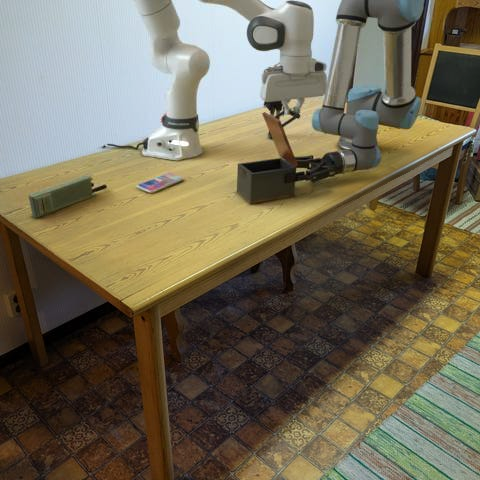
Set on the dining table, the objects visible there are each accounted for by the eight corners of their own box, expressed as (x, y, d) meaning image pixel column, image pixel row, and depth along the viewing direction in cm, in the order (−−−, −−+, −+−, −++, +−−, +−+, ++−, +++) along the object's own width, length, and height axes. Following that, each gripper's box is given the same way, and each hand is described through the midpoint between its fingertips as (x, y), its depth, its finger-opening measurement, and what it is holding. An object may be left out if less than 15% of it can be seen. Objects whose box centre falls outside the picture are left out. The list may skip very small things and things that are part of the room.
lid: (277, 122, 143) (299, 107, 144) (262, 113, 150) (282, 99, 151) (295, 166, 153) (315, 153, 154) (280, 156, 160) (299, 143, 161)
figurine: (266, 142, 202) (269, 63, 187) (256, 138, 206) (258, 61, 191) (291, 134, 211) (296, 59, 196) (280, 131, 215) (284, 57, 200)
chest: (250, 203, 151) (251, 174, 147) (236, 192, 159) (237, 163, 154) (293, 196, 158) (296, 167, 153) (278, 185, 165) (281, 157, 160)
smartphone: (184, 177, 167) (150, 191, 157) (184, 180, 167) (151, 194, 157) (168, 171, 171) (134, 185, 161) (168, 174, 171) (135, 188, 161)
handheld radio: (30, 215, 144) (102, 188, 161) (37, 219, 142) (109, 191, 159) (26, 193, 140) (100, 168, 157) (33, 197, 138) (107, 171, 155)
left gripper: (267, 69, 136) (265, 120, 143) (331, 64, 143) (327, 112, 150) (257, 65, 141) (255, 114, 148) (319, 60, 148) (315, 107, 155)
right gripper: (356, 185, 158) (294, 198, 150) (318, 162, 176) (260, 172, 167) (359, 163, 155) (296, 174, 146) (319, 141, 172) (261, 150, 163)
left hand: (292, 113), depth 149 cm, fingers closed on lid
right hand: (277, 173), depth 157 cm, fingers closed on chest, 9 cm apart
